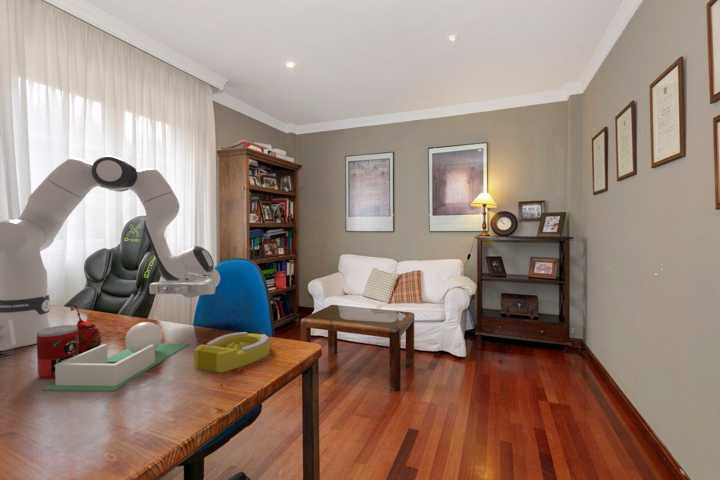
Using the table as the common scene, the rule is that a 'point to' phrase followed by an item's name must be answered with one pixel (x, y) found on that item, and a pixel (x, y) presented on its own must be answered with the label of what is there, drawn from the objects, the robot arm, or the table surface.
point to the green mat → (160, 354)
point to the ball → (143, 336)
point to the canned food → (55, 348)
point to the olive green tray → (231, 351)
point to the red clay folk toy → (87, 334)
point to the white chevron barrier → (101, 367)
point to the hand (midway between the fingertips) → (168, 291)
